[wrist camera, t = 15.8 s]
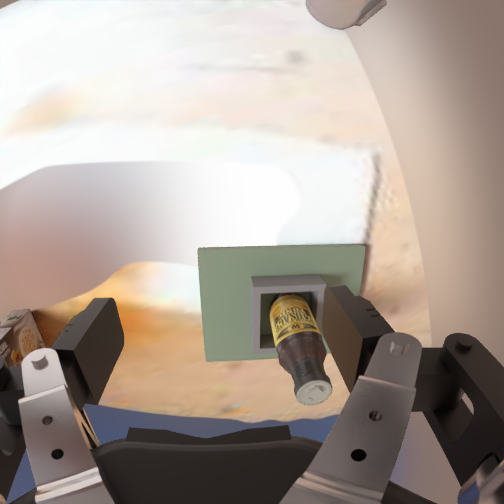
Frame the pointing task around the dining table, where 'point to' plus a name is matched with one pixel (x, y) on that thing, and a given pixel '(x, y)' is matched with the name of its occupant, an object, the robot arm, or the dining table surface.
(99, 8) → the dining table surface
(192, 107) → the dining table surface
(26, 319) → the coffee box
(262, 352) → the deck plate
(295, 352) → the sauce bottle
